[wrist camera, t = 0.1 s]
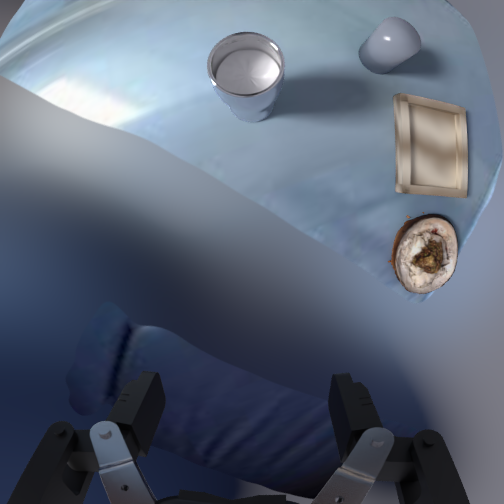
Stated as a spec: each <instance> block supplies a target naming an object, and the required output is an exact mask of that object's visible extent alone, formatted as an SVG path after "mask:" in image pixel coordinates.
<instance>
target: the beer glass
mask: <svg viewBox="0 0 504 504" xmlns="http://www.w3.org/2000/svg"><path fill="white" fill-rule="evenodd" d="M284 68H285V60H284V56H283V53H282V51H281V49H280V48H279V46H278V45H277V44H276V43H275V42H274V41H273V40H271V39H270V38H268V37H266V36H264V35H262V34H259V33H254V32H240V33H235V34H232V35H229V36H227V37H225V38H223V39H222V40H221V41H219V42H218V43H217V44H216V45H215V46H214V47H213V49H212V50H211V52H210V54H209V57H208V61H207V71H208V75H209V77H210V80H211V83H212V86H213V88H214V90H215V92H216V94H217V95H218V97H219V98H220V99H221V100H222V101H223V102H224V103H225V104H226V105H227V106H229V107H230V110H231V112H232V113H233V114H234V115H235V116H236V117H237V118H238V119H240V120H242V121H246V122H258V121H261V120H263V119H265V118H266V117H268V116H269V115H270V113H271V112H272V110H273V108H274V105H275V100H276V99H277V97H278V96H279V94H280V92H281V90H282V87H283V83H284V76H285V69H284Z"/></svg>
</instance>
